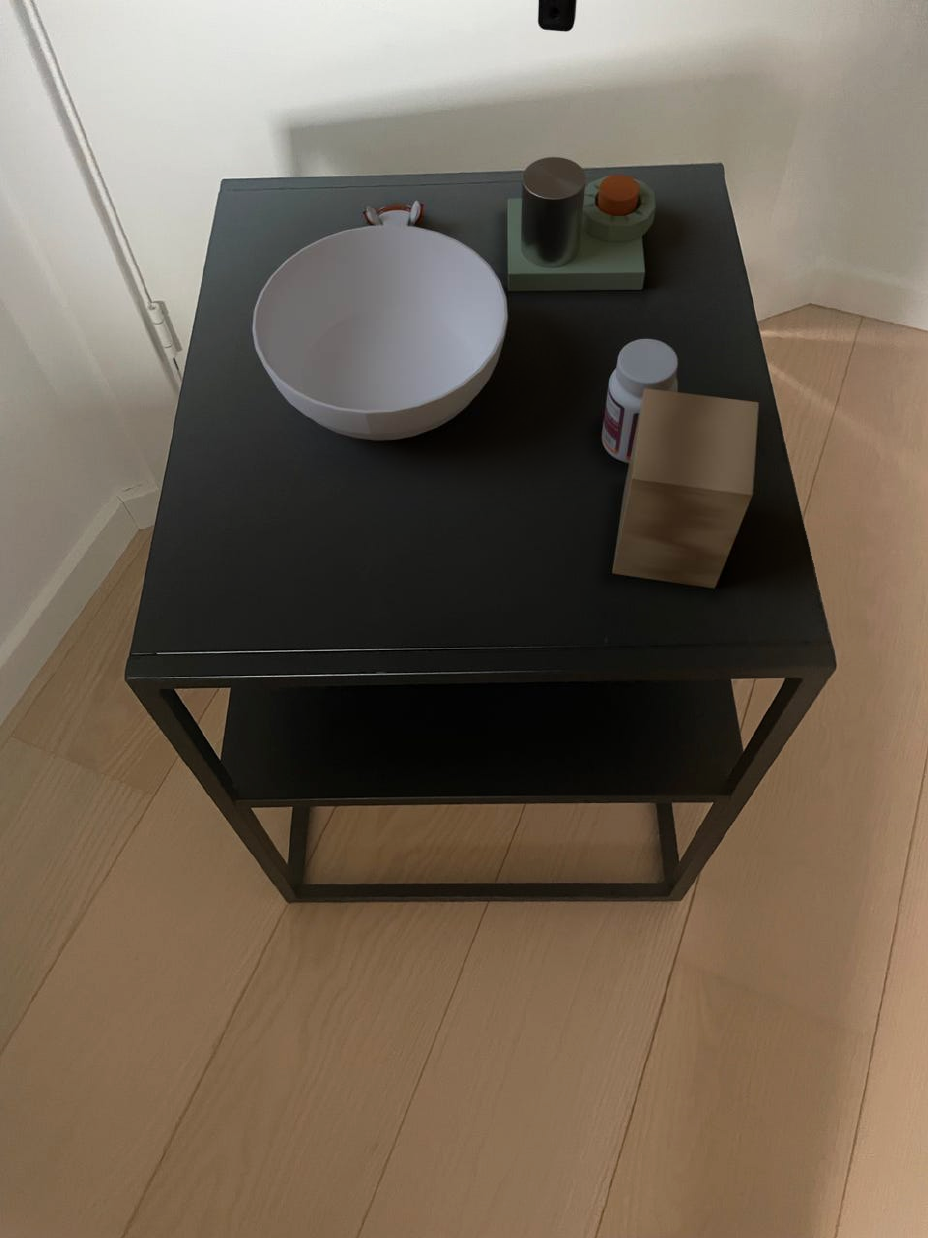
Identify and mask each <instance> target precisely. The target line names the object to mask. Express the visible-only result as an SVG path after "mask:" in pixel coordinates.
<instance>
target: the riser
mask: <svg viewBox="0 0 928 1238" xmlns="http://www.w3.org/2000/svg"><path fill="white" fill-rule="evenodd" d="M759 406H760V402H758V401H751V400H742V399H734V398H727V397H726V398H725V397H719V396H711V395H703V394H694V393H687V392H680V391H679V392H671V391H663V390H655V389H647V388H645V389H644V392H643V397H642V402H641V407H640V412H639V417H638V422H637V427H636V433H635V438H634V443H633V448H632V453H631V458H630V463H628V467H627V468H628V469H627V474H626V479H625V482H624V483H625V484H624V487H623V488H624V489H623V495H622V501H621V509H620V516H619V524H618V529H617V530H618V531H617V537H616V543H615V544H616V545H615V552H614V557H613V566H612V574H614V575H620V576H627V577H633V578H640V579H647V580H653V581H660V582H667V583H674V584H680V585H681V584H682V585H688V586H693V587H701V588H708V589H716V588H717V584H718V583H719V580H720V577H721V575H722V572H723V570H724V567H725V565H726V562H727V560H728V557H729V555H730V552H731V550H732V547H733V545H734V542H735V540H736V537H737V535H738V533H739V530H740V528H741V525H742V523H743V521H744V518H745V515H746V512H747V511H748V509H749V508H748V507H749V505H750V503H751V500H752V498H753V495H754V482H755V468H756V453H757V439H758V423H759V422H758V421H759V408H760V407H759Z"/></svg>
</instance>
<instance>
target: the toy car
mask: <svg viewBox="0 0 928 1238" xmlns="http://www.w3.org/2000/svg"><path fill="white" fill-rule="evenodd" d="M424 206H425V204H424V203H420V202H419V201H418V200H415V201H414V203H413V204H412V205H408V204H400V203H394V204H390V205H385V206H382V207H380V208H378V210H375V208H373V206H370V205H367V207H366V210H364V211H362V215H364V218H365V220H366V225H367V226H381V225H399V226H410V227H417V226H418V225H419V223H420V222H421V221H422V220H423V219H424V218H425V216H424Z"/></svg>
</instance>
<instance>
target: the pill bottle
mask: <svg viewBox="0 0 928 1238" xmlns="http://www.w3.org/2000/svg"><path fill="white" fill-rule="evenodd" d="M678 360H679V359H678V356H677V353H676V352H675V350H674V349H673V348H672V347H671V346H669V344H667V343H665V342H663V341H661V340H658V339H652V338H640V339H636V340H633V341H630V342H629V343H627V344H626V345H624V346H623V347H622V348H621V350H620V351H619V354H618V356H617V361H616V367H615V369H614V370H613V371H612V373H611V375H610V377H609V380H608V384H607V394H606V395H607V396H606V401H605V409H604V416H603V423H602V430H601V431H602V432H601V441H602V445H603V447H604V449H605V451H606V452H607V453H608V454H609V455H610V456H611V457H613V458H614V459H616V460H618V461H620V462H623V463H626V464H629V463H630V458H631V453H632V448H633V443H634V438H635V433H636V427H637V422H638V417H639V412H640V407H641V402H642V397H643V392H644V389H645V388H647V389H655V390H663V391H671V392H678V390H679V384H678V379H677V373H678V367H679V361H678Z"/></svg>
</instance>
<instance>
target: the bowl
mask: <svg viewBox="0 0 928 1238" xmlns="http://www.w3.org/2000/svg"><path fill="white" fill-rule="evenodd" d="M254 307H255V308H254V309H253V318H252V319H253V320H252V337H253V342H254V348H255V351H256V353H257V355H258V358H259V359H260V361H261V363H262V366H263V367H264V369H265V371H266V372H267V374H268V376H269V377H270V379H271V380H272V381H273V384H274V385H275V387H276V388H277V390H278V391H279V392H280V394H281V395H282V396H283V397H284V398H285V399H286V401H287V402H288V403H289V404H290V406H292V407H294V408H295V409H296V410H298V411H299V412H300V413H302V414H303V415H304V416H305V417H307V418H309V419H311V420H313V422H315V423H317V424H318V425H319V426H322V427H324V428H326V429H328V430H330V431H332V432H334V433H336V434H340V435H343V436H347V437H350V438H352V439H353V438H354V439H360V440H368V441H369V440H371V441H394V440H395V441H396V440H402V439H407V438H412V437H415V436H418V435H421V434H424V433H427V432H428V431H429V432H430V431H432V430H434V429H437V428H438V427H440V426H442V425H444V424H446V423H447V422H448V421H449V422H450V421H451V420H452V419H454V418H455V417H456V416H457V415H459V414H460V413H461V412H463V410H465V409H466V408H467V407H468V406H469V405H470V404H471V402H472V401H473V400H474V398H475V397H477V396H478V395H479V393H480V392H481V391H482V389H484V387H485V385H486V384H487V383H488V382H489V381H490V379H491V377H492V375H493V373H494V370H495V369H496V366H497V364H498V362H499V358H500V355H501V352H502V348H503V345H504V344H503V343H504V340H505V336H506V332H507V326H508V321H509V314H508V313H509V312H508V300H507V296H506V293H505V291H504V287H503V286H502V282H501V280H500V278H499V277H498V275H497V274H496V273H495V271H494V270H493V268H492V267H491V265H490V264H489V262H487V261H486V260H485V259H484V258H483V257H481V255H480V254H479V253H478V252H476V251H475V250H474V249H472V248H470V247H469V246H467V245H466V244H464V243H463V242H462V241H460V240H458V239H456V238H453V237H450V236H448V235H446V234H443V233H441V232H438V231H434V230H430V229H427V228H421V227H417V226H416V227H410V226H399V225H381V226H370V225H367V226H362V227H358V228H352V229H351V228H350V229H346V230H343V231H340V232H337V233H334V234H331V235H328V236H324V237H322V238H321V239H318V240H316V241H314V242H312V243H311V244H309V245H306V246H305V247H303V248H301V249H300V250H299V251H297V252H296V253H294V254H293V255H291V256H290V257H289V258H287V259H286V260H285V261H284V262H283V263H282V264H281V265H280V266H279V267H278V268H277V269H276V270H275V271H274V272H273V273H272V274H271V275H270V277H269V278H268V280H267V281H266V283H265V284H264V286H263V288H262V289H261V291H260V293H259V296H258V298H257V301H256V304H255V306H254Z"/></svg>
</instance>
